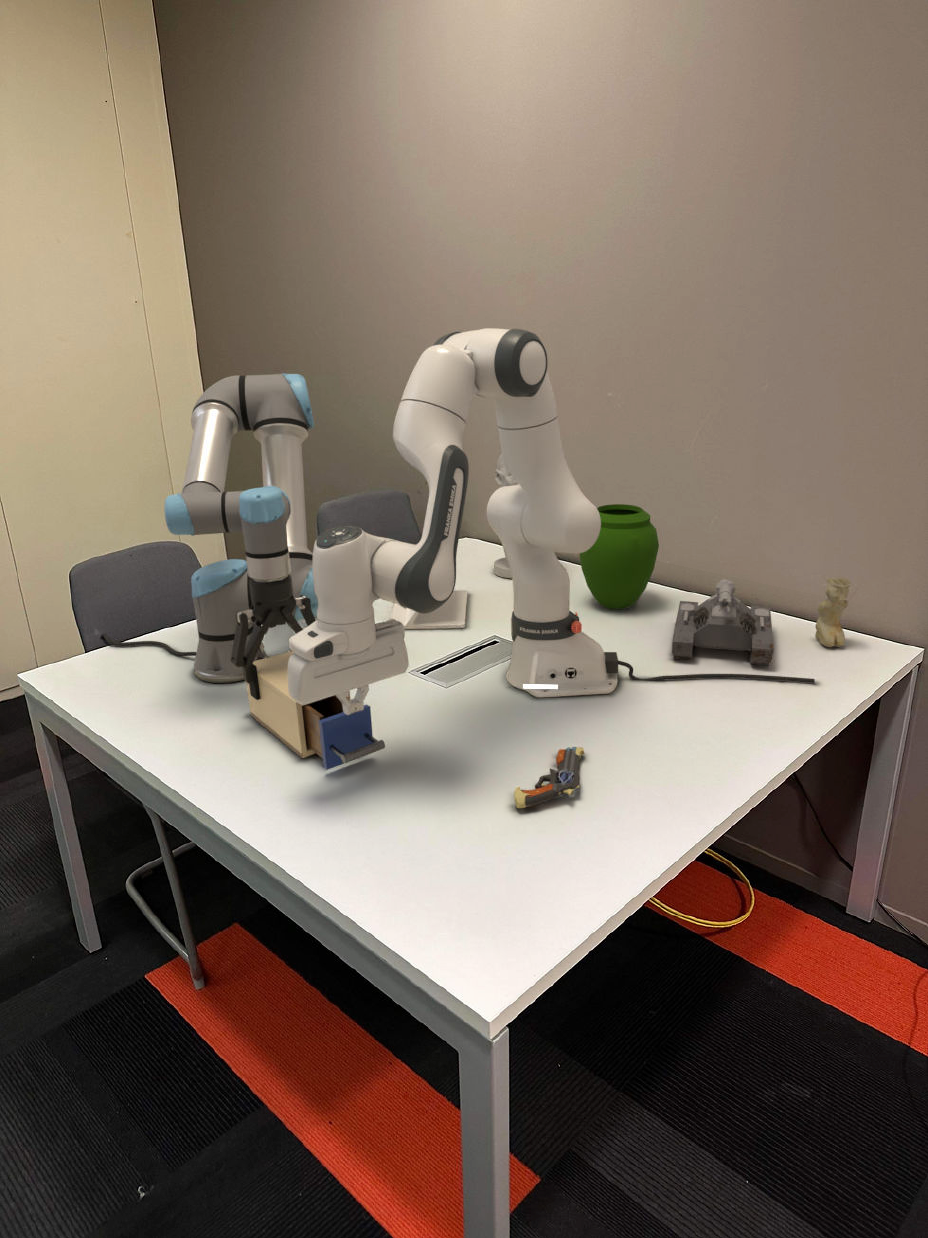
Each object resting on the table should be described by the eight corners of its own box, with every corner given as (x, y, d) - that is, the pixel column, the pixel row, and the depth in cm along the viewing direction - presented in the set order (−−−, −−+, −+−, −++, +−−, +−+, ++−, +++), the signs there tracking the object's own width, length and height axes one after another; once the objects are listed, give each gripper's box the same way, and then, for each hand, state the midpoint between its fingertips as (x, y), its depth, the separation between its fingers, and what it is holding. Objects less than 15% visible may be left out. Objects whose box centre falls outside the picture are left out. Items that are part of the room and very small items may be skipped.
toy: (678, 620, 203) (682, 559, 197) (767, 627, 197) (774, 565, 192) (670, 662, 180) (675, 595, 175) (771, 671, 174) (778, 602, 169)
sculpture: (821, 649, 184) (830, 583, 179) (808, 637, 191) (816, 573, 185) (848, 649, 184) (858, 582, 179) (834, 636, 191) (843, 572, 185)
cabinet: (354, 739, 152) (349, 685, 148) (302, 758, 146) (295, 702, 143) (299, 700, 168) (293, 650, 165) (250, 715, 163) (243, 664, 159)
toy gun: (511, 797, 129) (577, 795, 127) (525, 744, 147) (584, 741, 144) (513, 813, 129) (579, 812, 127) (527, 758, 147) (585, 756, 145)
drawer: (390, 764, 141) (387, 717, 138) (342, 783, 136) (338, 735, 133) (318, 712, 161) (313, 670, 158) (273, 727, 156) (268, 683, 153)
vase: (599, 587, 227) (601, 497, 218) (668, 600, 216) (673, 505, 208) (562, 608, 212) (564, 513, 204) (634, 623, 202) (639, 523, 193)
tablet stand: (467, 593, 225) (465, 531, 219) (465, 628, 202) (462, 559, 196) (399, 594, 226) (395, 532, 220) (388, 629, 203) (384, 560, 197)
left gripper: (317, 559, 161) (327, 666, 169) (200, 584, 149) (217, 699, 156) (336, 567, 156) (346, 678, 163) (216, 595, 143) (233, 713, 151)
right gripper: (392, 611, 141) (397, 687, 146) (278, 642, 129) (287, 723, 134) (413, 621, 136) (417, 699, 141) (297, 654, 125) (306, 738, 129)
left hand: (283, 688), depth 160 cm, fingers closed on cabinet, 10 cm apart
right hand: (353, 711), depth 137 cm, fingers closed
